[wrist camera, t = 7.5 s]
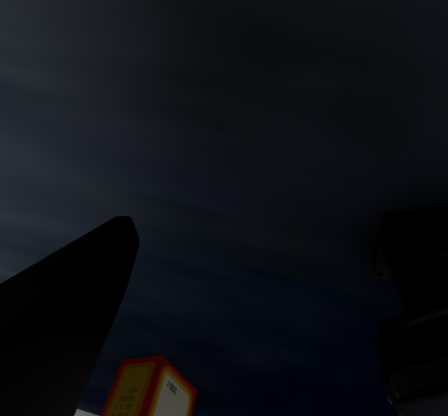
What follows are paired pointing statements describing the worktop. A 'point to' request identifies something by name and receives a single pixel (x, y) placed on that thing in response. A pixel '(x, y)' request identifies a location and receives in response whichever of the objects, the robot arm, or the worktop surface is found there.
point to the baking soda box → (150, 390)
